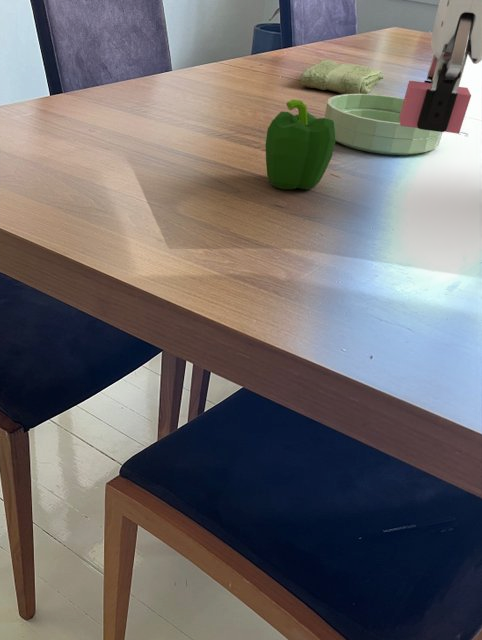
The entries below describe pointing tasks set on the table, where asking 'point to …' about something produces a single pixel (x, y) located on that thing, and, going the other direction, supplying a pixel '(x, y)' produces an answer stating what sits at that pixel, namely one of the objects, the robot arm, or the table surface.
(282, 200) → the table surface
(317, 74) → the washcloth
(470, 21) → the robot arm
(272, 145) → the bell pepper
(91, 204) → the table surface
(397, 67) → the table surface
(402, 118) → the eraser
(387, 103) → the bowl
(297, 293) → the table surface
